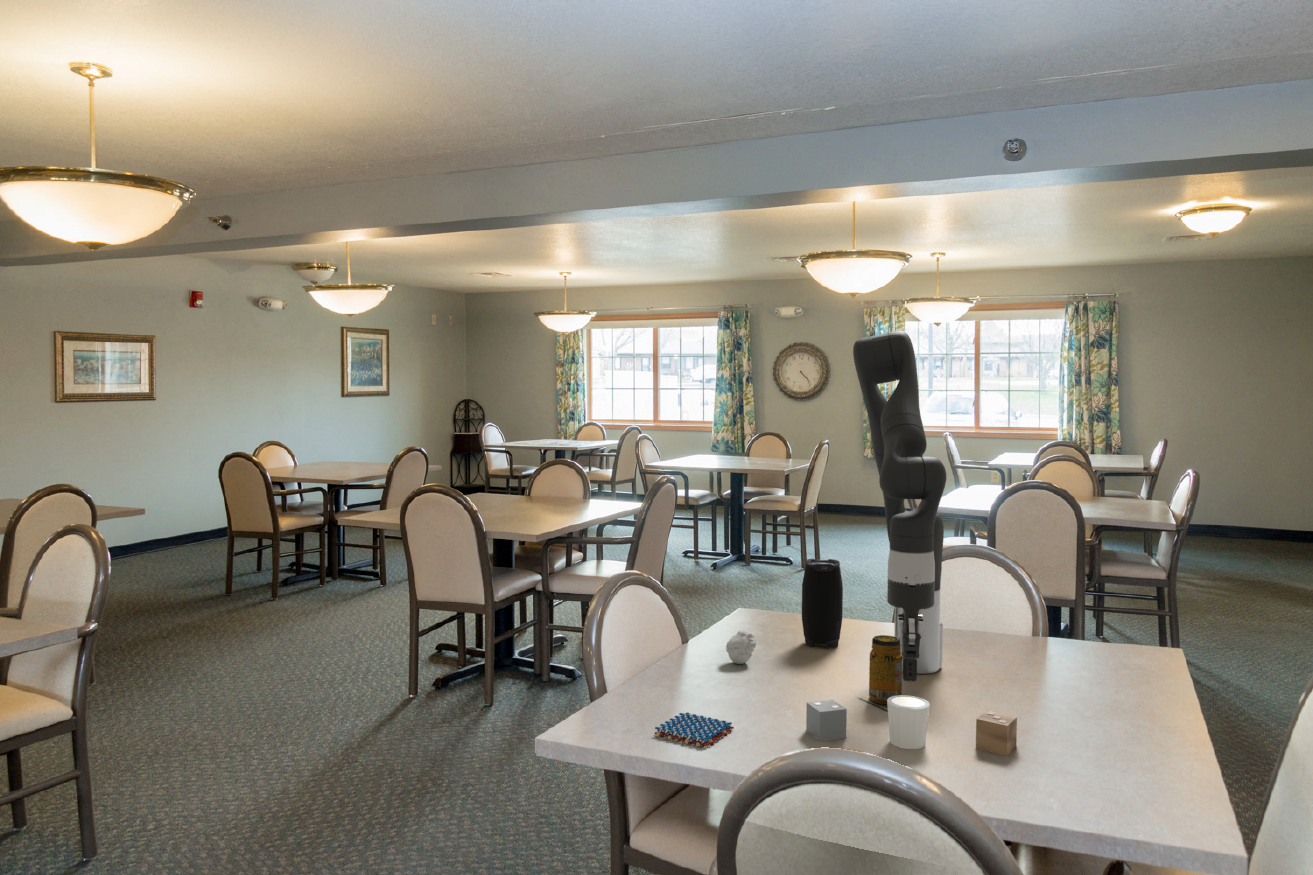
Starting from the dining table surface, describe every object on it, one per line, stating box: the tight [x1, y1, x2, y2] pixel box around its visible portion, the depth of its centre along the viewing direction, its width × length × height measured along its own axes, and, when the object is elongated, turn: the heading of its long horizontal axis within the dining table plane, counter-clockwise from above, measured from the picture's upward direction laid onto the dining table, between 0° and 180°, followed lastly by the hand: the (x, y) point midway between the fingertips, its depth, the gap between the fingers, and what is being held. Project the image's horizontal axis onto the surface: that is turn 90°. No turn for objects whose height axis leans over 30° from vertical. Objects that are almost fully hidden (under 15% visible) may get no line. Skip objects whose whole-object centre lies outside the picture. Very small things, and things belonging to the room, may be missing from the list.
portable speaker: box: [801, 558, 844, 649], centre depth 209 cm, size 9×9×20 cm
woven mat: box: [654, 712, 734, 749], centre depth 154 cm, size 10×11×2 cm
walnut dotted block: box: [975, 710, 1018, 757], centre depth 148 cm, size 5×5×5 cm
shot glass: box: [887, 694, 931, 750], centre depth 150 cm, size 7×7×7 cm
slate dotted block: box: [805, 699, 848, 742], centre depth 154 cm, size 5×5×5 cm
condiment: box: [858, 634, 903, 711], centre depth 170 cm, size 7×8×12 cm
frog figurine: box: [725, 629, 757, 665], centre depth 194 cm, size 6×7×7 cm
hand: (909, 679), depth 150 cm, fingers closed
